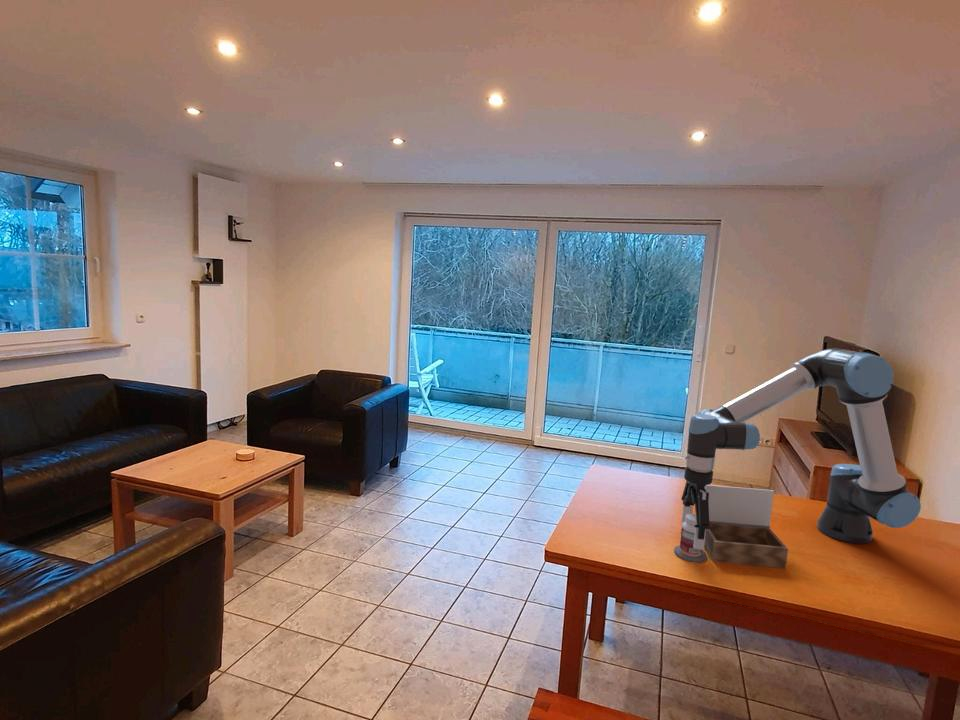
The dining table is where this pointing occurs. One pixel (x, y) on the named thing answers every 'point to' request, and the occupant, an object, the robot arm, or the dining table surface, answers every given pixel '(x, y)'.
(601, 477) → the dining table surface
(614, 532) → the dining table surface
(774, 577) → the dining table surface
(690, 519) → the pill bottle
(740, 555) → the box
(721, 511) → the frame lid
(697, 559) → the grey round disc
